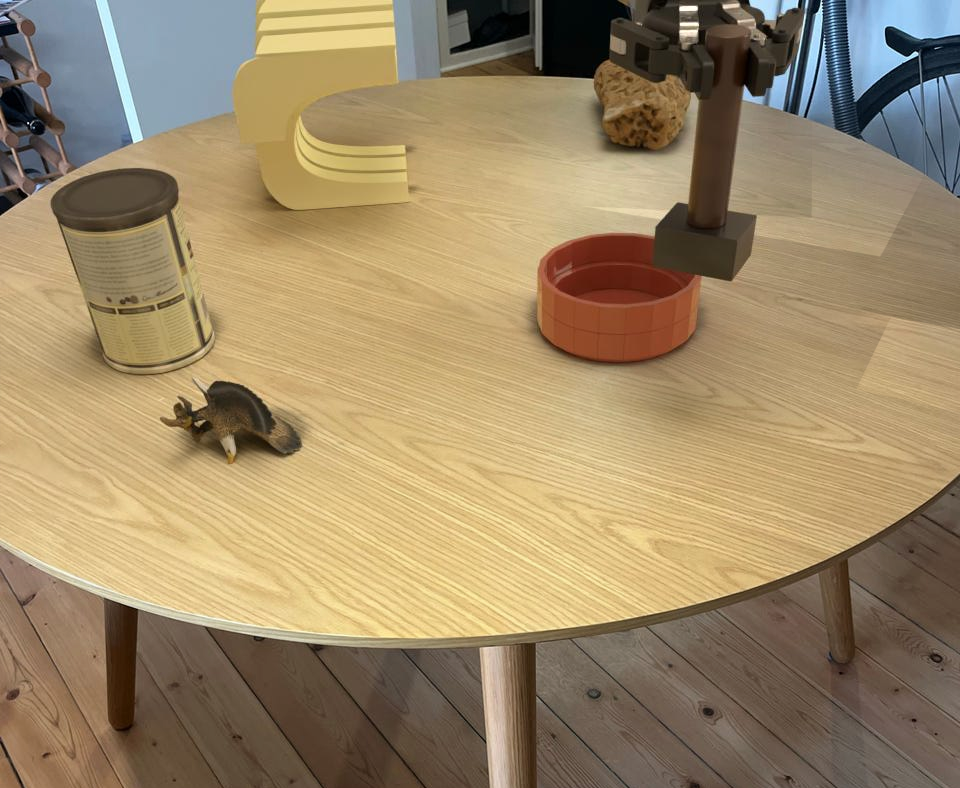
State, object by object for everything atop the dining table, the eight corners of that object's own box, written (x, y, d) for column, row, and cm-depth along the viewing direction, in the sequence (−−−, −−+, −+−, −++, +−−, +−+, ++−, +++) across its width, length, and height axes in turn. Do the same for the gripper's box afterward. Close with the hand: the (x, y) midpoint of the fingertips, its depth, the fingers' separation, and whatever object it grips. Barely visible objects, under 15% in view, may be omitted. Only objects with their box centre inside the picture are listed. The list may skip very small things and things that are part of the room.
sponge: (686, 164, 122) (703, 73, 132) (678, 101, 115) (697, 10, 126) (579, 178, 126) (604, 89, 136) (566, 117, 120) (593, 29, 130)
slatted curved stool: (278, 141, 129) (250, -22, 117) (404, 132, 130) (389, -31, 117) (261, 245, 108) (224, 59, 96) (411, 234, 109) (394, 47, 96)
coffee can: (85, 343, 95) (31, 190, 85) (186, 307, 99) (146, 157, 89) (130, 388, 89) (77, 229, 79) (235, 348, 93) (198, 192, 83)
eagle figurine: (169, 472, 78) (279, 454, 76) (149, 377, 77) (260, 357, 75) (212, 466, 85) (313, 450, 84) (194, 380, 84) (296, 361, 82)
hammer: (751, 255, 75) (786, 25, 64) (731, 282, 72) (765, 46, 61) (673, 241, 77) (695, 16, 66) (651, 267, 74) (670, 36, 64)
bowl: (716, 305, 95) (723, 248, 91) (662, 380, 86) (667, 320, 82) (576, 278, 100) (577, 222, 96) (512, 346, 91) (510, 288, 87)
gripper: (592, -51, 73) (625, 19, 61) (788, -63, 73) (861, 5, 61) (588, 65, 78) (618, 151, 66) (771, 54, 78) (835, 138, 66)
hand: (734, 80), depth 63 cm, fingers closed on hammer, 3 cm apart
